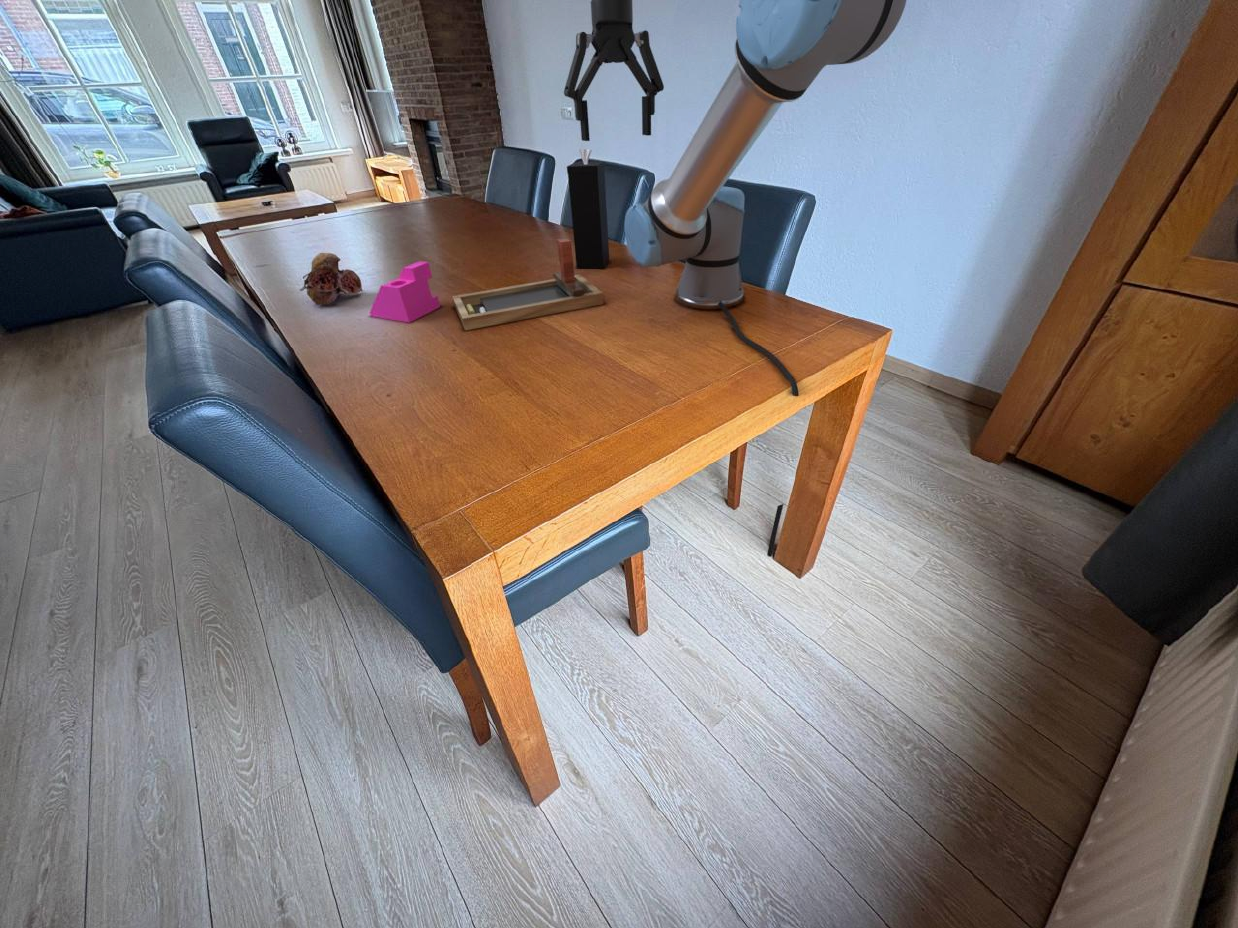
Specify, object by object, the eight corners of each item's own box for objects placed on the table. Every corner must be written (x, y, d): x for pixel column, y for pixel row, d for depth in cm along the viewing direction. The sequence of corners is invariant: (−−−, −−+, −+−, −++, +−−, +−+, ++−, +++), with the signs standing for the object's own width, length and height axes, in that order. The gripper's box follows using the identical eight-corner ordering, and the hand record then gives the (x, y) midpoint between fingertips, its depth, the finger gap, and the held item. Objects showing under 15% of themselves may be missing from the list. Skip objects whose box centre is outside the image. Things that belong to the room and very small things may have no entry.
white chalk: (483, 320, 109) (489, 319, 110) (481, 315, 108) (487, 313, 109) (480, 313, 113) (485, 311, 113) (478, 307, 112) (484, 306, 112)
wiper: (585, 298, 113) (580, 246, 106) (573, 300, 112) (568, 248, 105) (565, 280, 124) (559, 232, 117) (554, 282, 123) (548, 234, 116)
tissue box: (603, 269, 136) (596, 150, 119) (576, 268, 138) (565, 151, 121) (609, 260, 142) (603, 146, 125) (583, 260, 144) (573, 147, 127)
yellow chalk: (472, 317, 112) (476, 314, 111) (468, 313, 111) (472, 309, 111) (468, 310, 115) (472, 307, 115) (464, 306, 114) (469, 302, 114)
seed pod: (280, 291, 111) (340, 259, 113) (272, 259, 120) (327, 230, 122) (321, 334, 122) (375, 304, 124) (311, 302, 131) (361, 275, 133)
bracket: (440, 306, 118) (428, 262, 112) (409, 322, 111) (394, 275, 104) (402, 301, 122) (389, 258, 116) (370, 316, 115) (354, 271, 109)
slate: (603, 304, 115) (602, 293, 113) (465, 330, 106) (462, 318, 104) (580, 284, 126) (580, 274, 125) (454, 307, 117) (452, 296, 116)
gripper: (664, -1, 94) (662, 132, 107) (538, -1, 87) (553, 141, 100) (683, -7, 89) (679, 134, 102) (550, -8, 82) (564, 144, 95)
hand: (616, 138), depth 101 cm, fingers open, 13 cm apart
